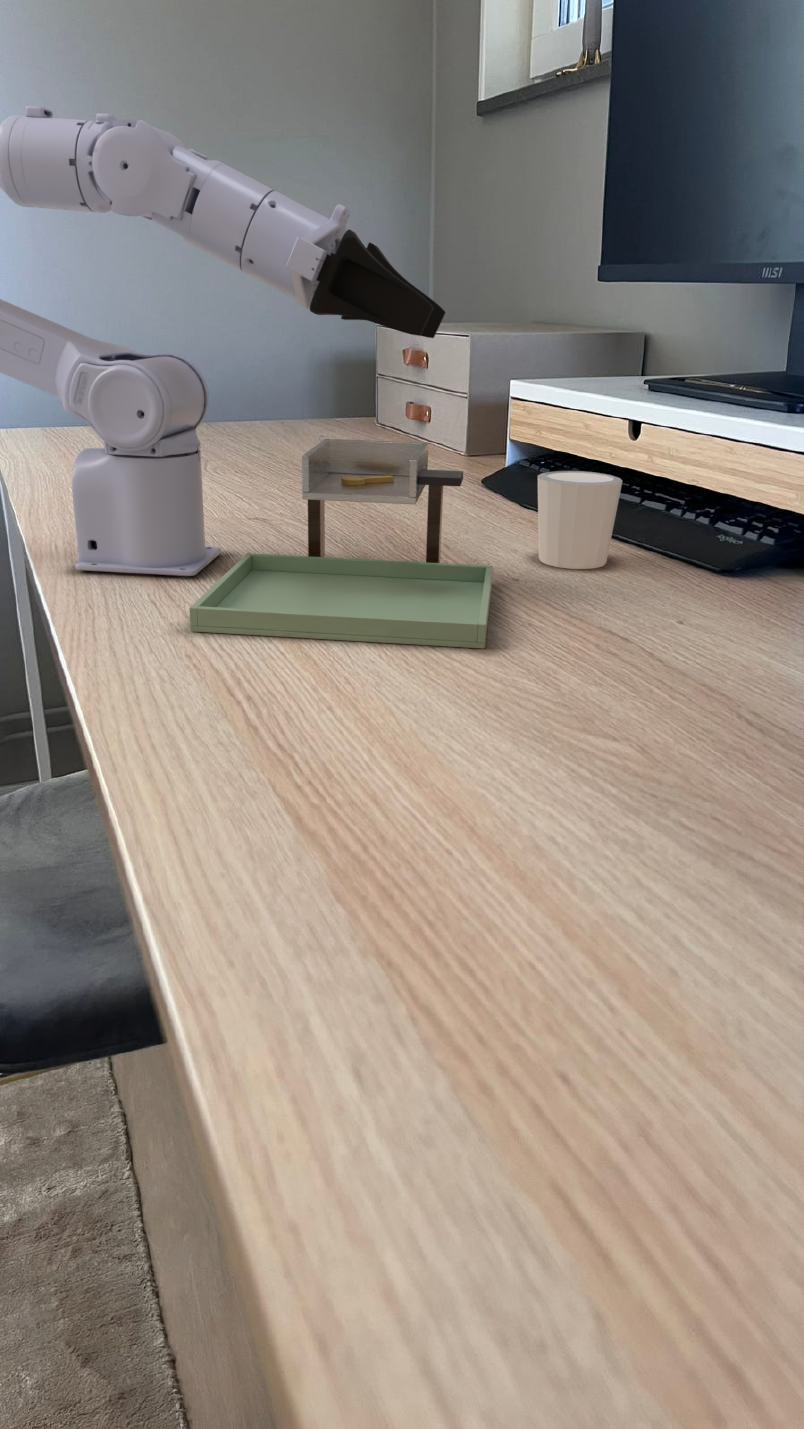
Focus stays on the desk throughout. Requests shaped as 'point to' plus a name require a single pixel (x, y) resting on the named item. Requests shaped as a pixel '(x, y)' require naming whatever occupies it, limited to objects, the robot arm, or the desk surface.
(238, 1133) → the desk surface
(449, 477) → the rectangular metal pan
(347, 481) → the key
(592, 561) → the white cup
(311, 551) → the stand
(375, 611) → the tray
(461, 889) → the desk surface
